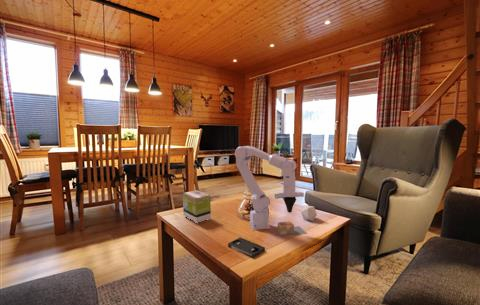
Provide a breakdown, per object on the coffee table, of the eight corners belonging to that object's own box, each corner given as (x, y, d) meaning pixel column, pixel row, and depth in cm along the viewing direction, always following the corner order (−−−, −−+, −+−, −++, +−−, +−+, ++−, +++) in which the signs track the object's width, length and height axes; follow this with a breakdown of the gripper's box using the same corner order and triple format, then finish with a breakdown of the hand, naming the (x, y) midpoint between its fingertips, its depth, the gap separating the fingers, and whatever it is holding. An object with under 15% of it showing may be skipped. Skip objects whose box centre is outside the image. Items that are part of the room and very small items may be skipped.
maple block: (293, 232, 113) (280, 234, 111) (290, 229, 117) (277, 230, 115) (294, 224, 112) (280, 225, 111) (290, 221, 116) (277, 222, 115)
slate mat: (280, 237, 109) (280, 236, 109) (273, 229, 118) (273, 228, 117) (307, 234, 112) (307, 233, 112) (299, 226, 120) (299, 226, 120)
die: (309, 225, 124) (320, 211, 124) (296, 214, 129) (306, 200, 128) (311, 225, 132) (321, 211, 131) (298, 215, 136) (308, 202, 136)
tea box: (182, 216, 136) (182, 192, 135) (197, 212, 143) (196, 189, 142) (196, 224, 125) (195, 197, 124) (211, 219, 132) (211, 194, 130)
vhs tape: (227, 247, 100) (227, 243, 100) (239, 241, 106) (239, 237, 106) (252, 259, 91) (252, 254, 91) (264, 252, 97) (264, 247, 96)
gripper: (278, 187, 107) (278, 216, 108) (306, 185, 110) (306, 213, 111) (273, 184, 114) (273, 211, 115) (300, 182, 117) (300, 208, 118)
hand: (289, 211), depth 113 cm, fingers closed
